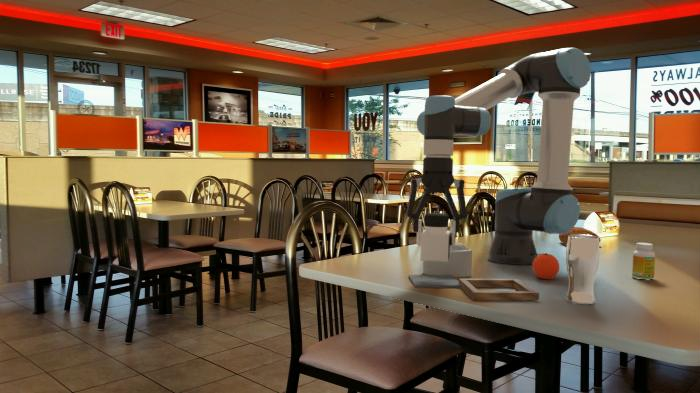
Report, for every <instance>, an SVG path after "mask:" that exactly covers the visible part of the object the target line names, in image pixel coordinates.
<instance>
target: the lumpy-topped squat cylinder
mask: <svg viewBox="0 0 700 393" xmlns="http://www.w3.org/2000/svg"><path fill="white" fill-rule="evenodd" d="M472 260H473V250H472V249H471V248H469V247H467V246H466V245H465V244H463V243H460V242H455V246H451V245H450V255H449V262H433V261H422V263H423V264H422V265H423V266H422V269H423V270H422V273H423V275H453V276H454V277H455V278H465V277H466V278H467V277H471V276H472V272H473V271H472V267H473V265H472V264H473V263H472V262H473V261H472Z"/></svg>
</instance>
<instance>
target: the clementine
mask: <svg viewBox="0 0 700 393" xmlns="http://www.w3.org/2000/svg"><path fill="white" fill-rule="evenodd" d="M531 265H532V266H531V267H532V270H533V273H534V274H535V276H537V277H538V278H540V279H543V280H551V279H552V278H555V277H556V276H557V275H558V274H559V271H560V263H559V260H558V259H557V258H556V256H554V255H553V254H550V253H547V252H543V253H542V252H541V253H537V255H536V257H535V259H534V261H533V264H531Z"/></svg>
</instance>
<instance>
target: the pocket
mask: <svg viewBox="0 0 700 393" xmlns="http://www.w3.org/2000/svg"><path fill="white" fill-rule="evenodd" d="M458 281H459V284H460V285H461V289H462V290H463V291H464V293H465V294H467V295H468V297H470V298H471V299H472V300H473V301H511V300H540V299H539V298H540V297H539V296H540V292H538V291H536V290H535V289H534V288H532V287H530V286H529V285H527V284H526V283H524V282H523V281H521V280H520V279H518V278H458ZM477 288H514V289H515V290H514V291H513V290H508V291H507V290H501V291H500V290H478V289H477ZM516 289H517V290H516Z"/></svg>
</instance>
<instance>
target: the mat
mask: <svg viewBox="0 0 700 393" xmlns="http://www.w3.org/2000/svg"><path fill="white" fill-rule="evenodd" d="M408 279H409V280H410V281H411V283H412V285H413V286H414V287H415V288H435V289H436V288H438V289H439V288H441V289H442V288H444V289H445V288H447V289H452V288H453V289H455V288H457V289H458V288H459V289H460V288H461V285H460V284H459V279H457V277H454V276H453V275H427V274H422V275H421V274H409V275H408ZM461 289H462V288H461Z"/></svg>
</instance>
